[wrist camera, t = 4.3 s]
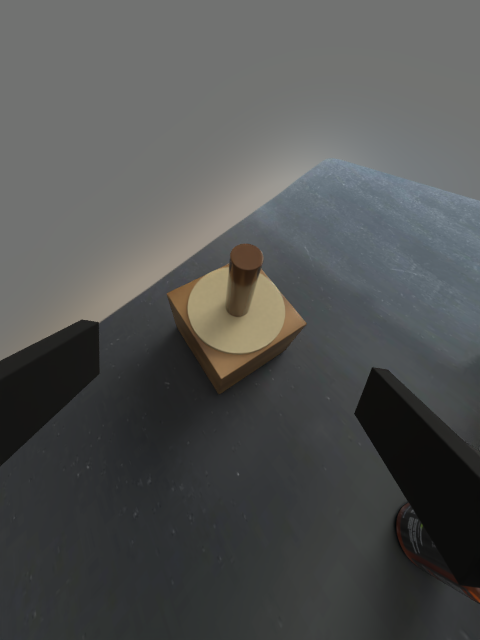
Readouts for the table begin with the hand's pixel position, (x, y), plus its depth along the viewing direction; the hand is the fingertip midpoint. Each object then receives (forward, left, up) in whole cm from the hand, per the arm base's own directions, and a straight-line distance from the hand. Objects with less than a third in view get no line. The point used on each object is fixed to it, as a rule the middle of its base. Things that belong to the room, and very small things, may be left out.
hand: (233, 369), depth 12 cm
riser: (-7, +6, -21) cm, 23 cm away
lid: (-7, +6, -12) cm, 15 cm away
